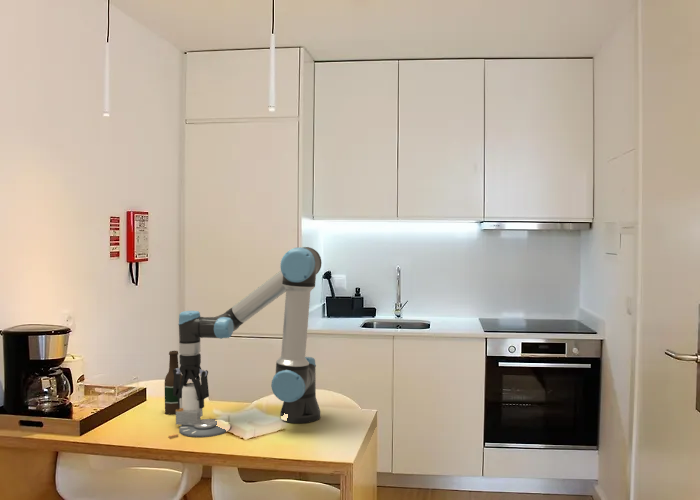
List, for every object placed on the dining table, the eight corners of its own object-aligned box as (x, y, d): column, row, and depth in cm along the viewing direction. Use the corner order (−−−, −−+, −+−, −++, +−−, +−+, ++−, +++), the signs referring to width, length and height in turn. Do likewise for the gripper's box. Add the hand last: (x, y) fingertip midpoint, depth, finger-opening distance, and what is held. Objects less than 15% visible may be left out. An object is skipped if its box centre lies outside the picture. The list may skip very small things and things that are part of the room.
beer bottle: (187, 409, 248) (186, 349, 247) (180, 415, 240) (179, 353, 239) (168, 409, 248) (167, 349, 248) (160, 414, 241) (160, 353, 240)
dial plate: (240, 424, 228) (240, 421, 228) (214, 439, 211) (214, 436, 211) (197, 419, 234) (197, 416, 234) (168, 434, 217) (168, 431, 217)
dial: (220, 423, 225) (220, 408, 225) (210, 429, 218) (209, 414, 217) (183, 420, 229) (183, 405, 229) (171, 426, 222) (171, 411, 221)
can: (195, 420, 225) (195, 387, 225) (179, 419, 226) (178, 386, 226) (203, 414, 231) (202, 382, 231) (187, 414, 233) (186, 382, 232)
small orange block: (176, 435, 215) (176, 433, 215) (178, 436, 214) (178, 434, 214) (168, 437, 213) (168, 435, 213) (170, 438, 212) (170, 436, 212)
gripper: (218, 353, 228) (219, 415, 229) (173, 350, 234) (174, 410, 235) (207, 357, 221) (208, 421, 222) (161, 354, 227) (162, 416, 228)
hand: (191, 415), depth 229 cm, fingers closed on can, 6 cm apart
